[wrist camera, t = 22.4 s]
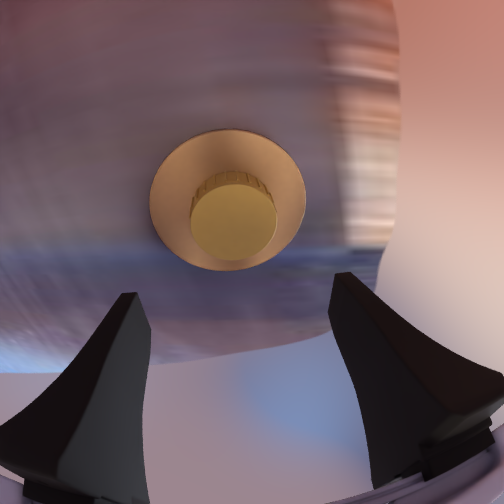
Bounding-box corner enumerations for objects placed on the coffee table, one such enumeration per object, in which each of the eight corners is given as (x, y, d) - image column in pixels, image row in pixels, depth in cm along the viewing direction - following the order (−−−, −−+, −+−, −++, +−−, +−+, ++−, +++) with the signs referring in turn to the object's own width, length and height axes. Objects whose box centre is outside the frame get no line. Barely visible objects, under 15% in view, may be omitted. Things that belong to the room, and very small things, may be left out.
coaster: (185, 282, 20) (184, 286, 20) (125, 162, 15) (123, 164, 15) (315, 244, 20) (316, 248, 19) (285, 109, 15) (287, 110, 14)
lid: (271, 240, 19) (276, 258, 17) (195, 245, 18) (193, 264, 17) (273, 168, 16) (280, 180, 14) (187, 172, 16) (184, 186, 14)
